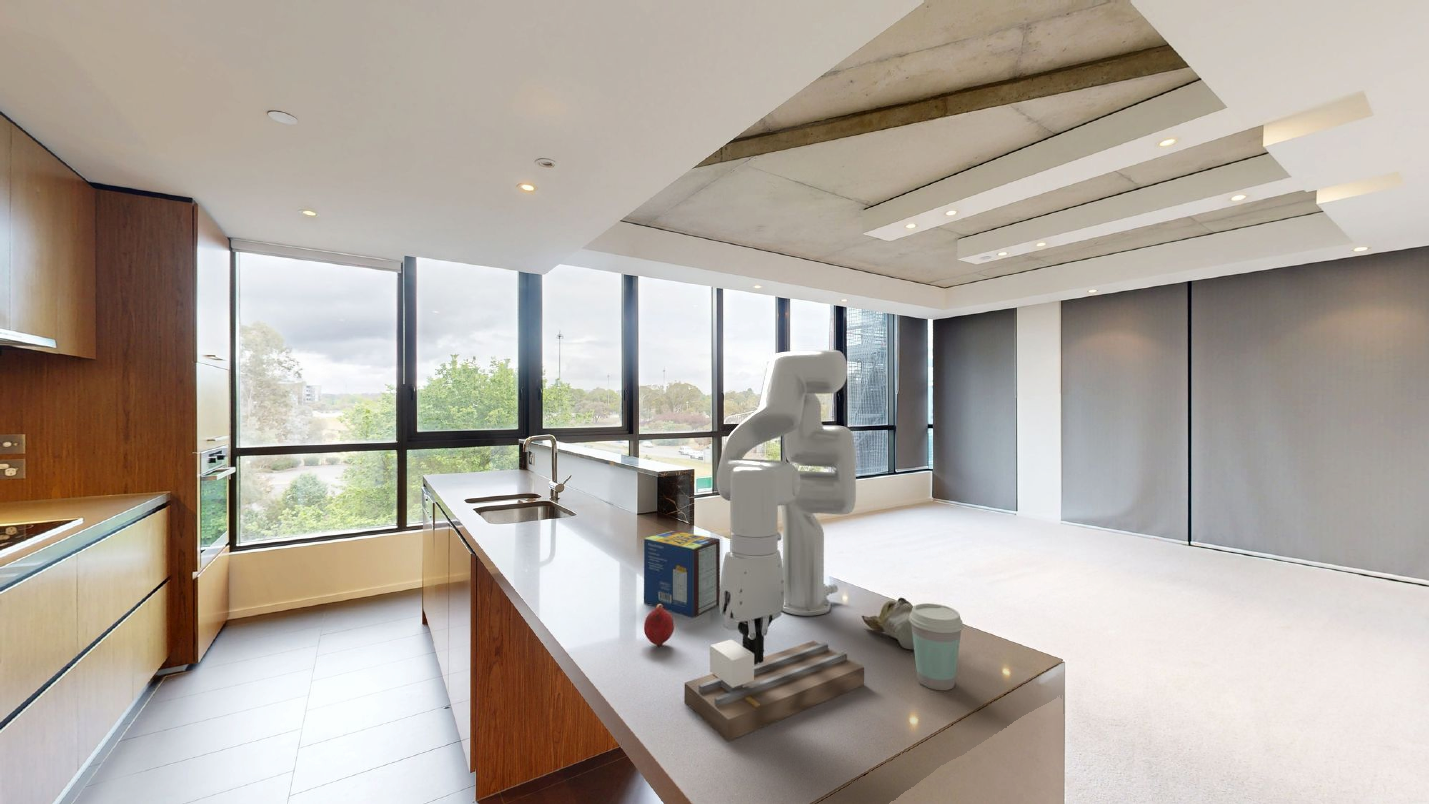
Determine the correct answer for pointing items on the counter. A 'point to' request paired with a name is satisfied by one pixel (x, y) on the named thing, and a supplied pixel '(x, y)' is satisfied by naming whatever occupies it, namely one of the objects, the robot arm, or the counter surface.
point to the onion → (658, 626)
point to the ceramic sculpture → (894, 622)
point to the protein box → (682, 572)
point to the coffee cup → (936, 644)
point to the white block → (731, 664)
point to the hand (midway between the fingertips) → (753, 659)
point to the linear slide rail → (774, 689)
